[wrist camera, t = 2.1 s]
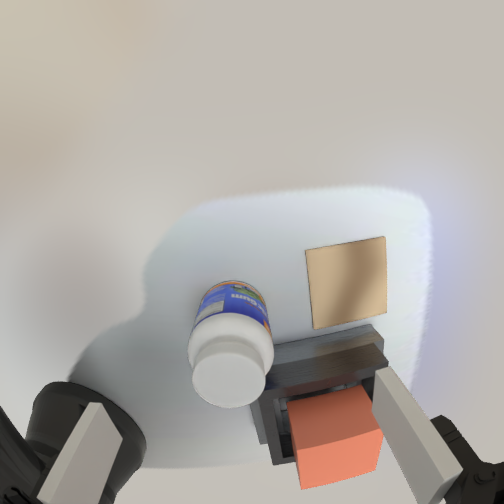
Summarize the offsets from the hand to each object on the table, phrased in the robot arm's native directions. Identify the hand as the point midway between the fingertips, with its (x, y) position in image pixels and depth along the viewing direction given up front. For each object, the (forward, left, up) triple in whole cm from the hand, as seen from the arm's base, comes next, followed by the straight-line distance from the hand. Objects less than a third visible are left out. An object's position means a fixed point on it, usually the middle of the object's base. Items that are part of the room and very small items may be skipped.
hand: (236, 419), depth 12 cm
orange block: (+6, -9, -7) cm, 13 cm away
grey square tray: (+6, -9, -13) cm, 16 cm away
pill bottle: (0, 0, -13) cm, 13 cm away
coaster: (+10, 0, -13) cm, 16 cm away
